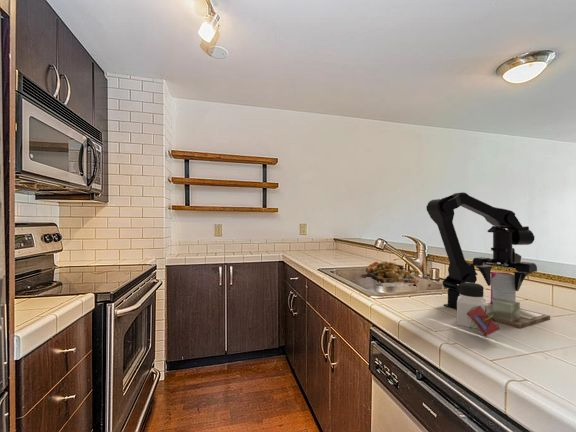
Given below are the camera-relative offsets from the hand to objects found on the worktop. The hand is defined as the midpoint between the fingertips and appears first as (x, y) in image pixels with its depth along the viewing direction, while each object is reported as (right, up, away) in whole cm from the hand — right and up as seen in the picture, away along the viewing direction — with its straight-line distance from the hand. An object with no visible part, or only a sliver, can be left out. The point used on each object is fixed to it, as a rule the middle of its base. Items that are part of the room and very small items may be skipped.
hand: (502, 288), depth 108 cm
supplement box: (0, -6, 0) cm, 6 cm away
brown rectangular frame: (-6, -6, -14) cm, 17 cm away
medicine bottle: (-23, -6, -20) cm, 31 cm away
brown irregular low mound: (-25, -7, +45) cm, 52 cm away
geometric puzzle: (-25, -6, -29) cm, 39 cm away
